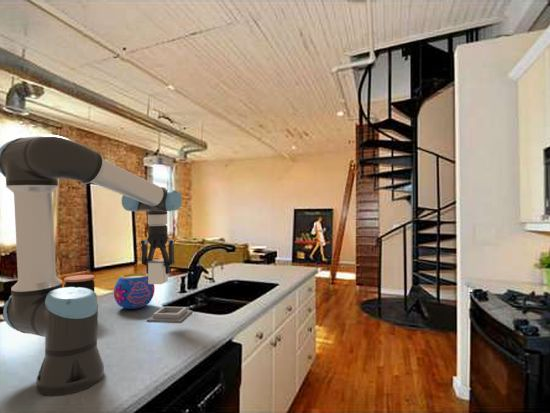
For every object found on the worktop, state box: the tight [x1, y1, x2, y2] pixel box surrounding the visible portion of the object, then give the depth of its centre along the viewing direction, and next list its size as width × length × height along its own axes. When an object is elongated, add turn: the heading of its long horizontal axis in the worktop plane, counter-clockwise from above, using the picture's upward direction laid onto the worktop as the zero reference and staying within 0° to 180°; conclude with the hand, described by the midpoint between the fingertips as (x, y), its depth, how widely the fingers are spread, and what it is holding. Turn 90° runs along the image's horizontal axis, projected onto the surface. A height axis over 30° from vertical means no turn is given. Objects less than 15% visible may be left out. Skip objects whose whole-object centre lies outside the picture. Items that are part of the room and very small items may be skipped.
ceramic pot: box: [113, 272, 155, 310], centre depth 153 cm, size 18×18×15 cm
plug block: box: [147, 259, 165, 285], centre depth 134 cm, size 6×6×9 cm
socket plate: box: [146, 306, 193, 324], centre depth 140 cm, size 14×14×3 cm
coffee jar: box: [63, 274, 95, 292], centre depth 133 cm, size 11×11×18 cm
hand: (158, 281), depth 134 cm, fingers closed on plug block, 5 cm apart
